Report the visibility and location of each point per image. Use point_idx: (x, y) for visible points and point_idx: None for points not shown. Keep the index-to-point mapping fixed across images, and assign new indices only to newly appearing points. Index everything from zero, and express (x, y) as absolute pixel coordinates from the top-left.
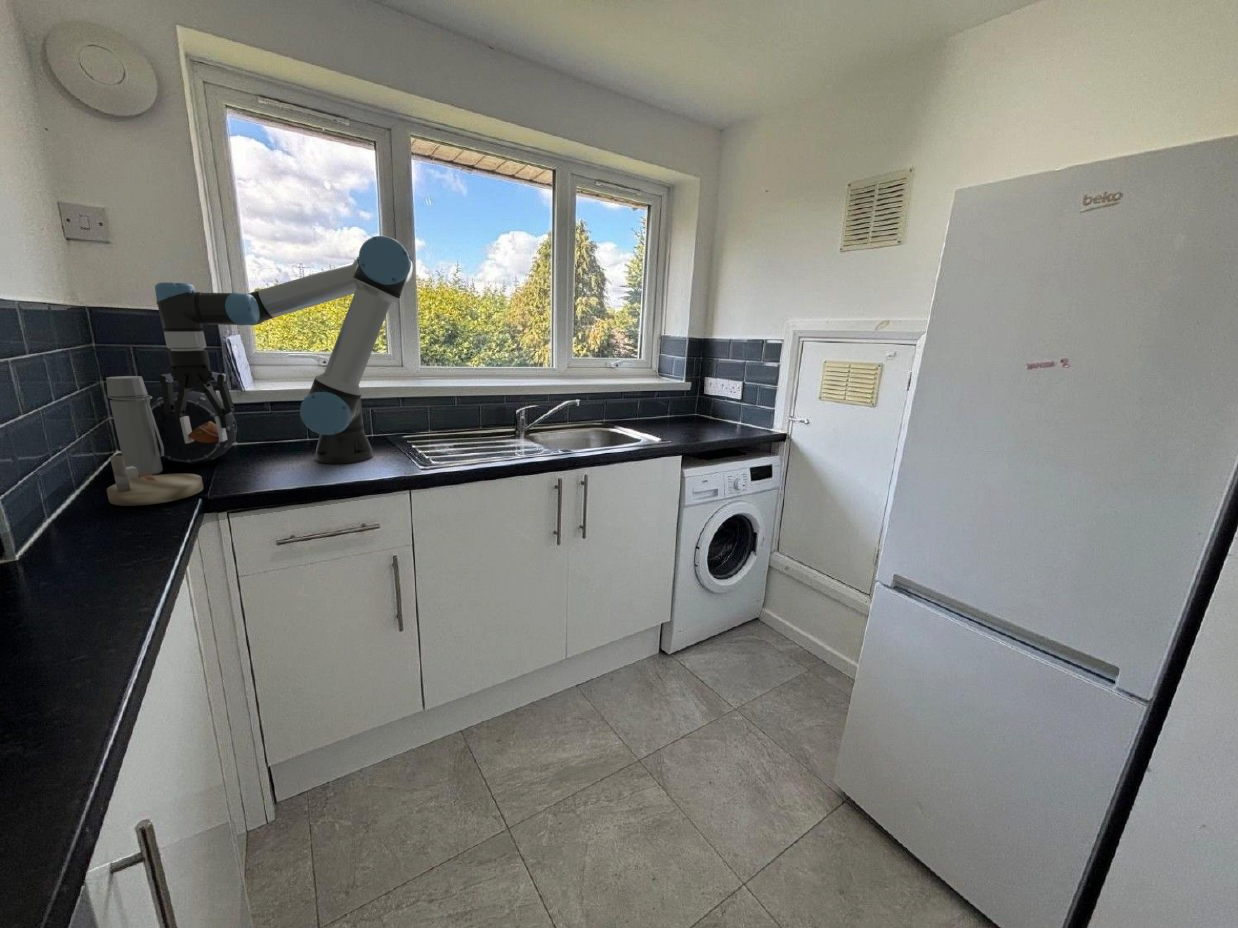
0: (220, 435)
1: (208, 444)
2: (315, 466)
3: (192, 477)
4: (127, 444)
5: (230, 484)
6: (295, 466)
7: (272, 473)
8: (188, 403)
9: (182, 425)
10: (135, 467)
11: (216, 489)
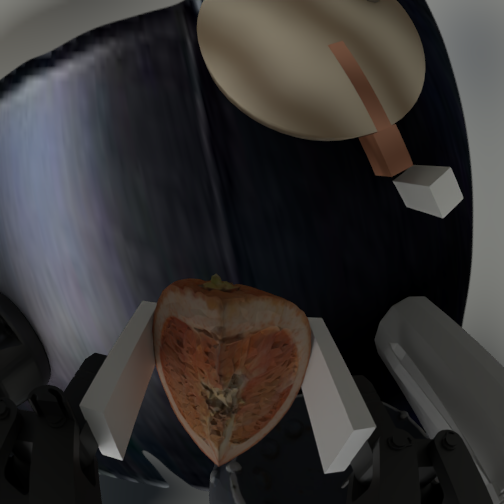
0: (137, 319)
1: (280, 438)
2: (21, 287)
3: (231, 58)
4: (475, 342)
5: (152, 135)
6: (56, 304)
7: (78, 243)
8: None
9: (349, 385)
10: (432, 190)
11: (179, 86)
